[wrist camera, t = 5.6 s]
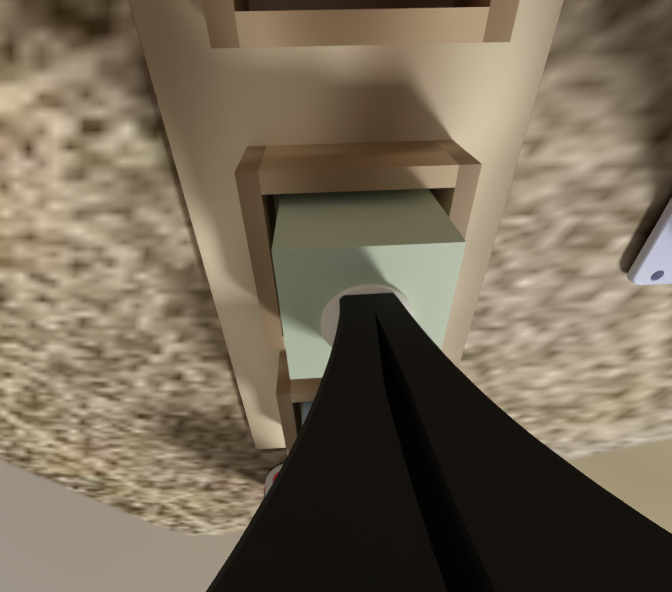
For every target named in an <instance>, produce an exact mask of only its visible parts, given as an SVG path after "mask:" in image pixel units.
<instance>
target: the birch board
mask: <svg viewBox="0 0 672 592" xmlns="http://www.w3.org/2000/svg"><path fill="white" fill-rule="evenodd" d="M563 2H564V0H129V3H130V6H131V10H132V13H133V17H134V20H135V24H136V27H137V31H138V35H139V38H140V42H141V45H142V49H143V52H144V56H145V59H146V63H147V66H148V70H149V73H150V77H151V80H152V84H153V87H154V91H155V94H156V98H157V102H158V105H159V109H160V112H161V116H162V119H163V123H164V126H165V130H166V133H167V137H168V140H169V144H170V147H171V151H172V154H173V158H174V161H175V165H176V169H177V172H178V176H179V179H180V183H181V186H182V190H183V193H184V197H185V200H186V204H187V207H188V211H189V214H190V218H191V221H192V225H193V229H194V232H195V236H196V239H197V243H198V246H199V250H200V253H201V257H202V260H203V264H204V267H205V271H206V274H207V278H208V281H209V285H210V288H211V292H212V296H213V299H214V303H215V306H216V310H217V313H218V317H219V320H220V324H221V327H222V331H223V334H224V338H225V341H226V345H227V348H228V352H229V356H230V359H231V363H232V366H233V370H234V373H235V377H236V380H237V384H238V387H239V391H240V394H241V398H242V401H243V405H244V408H245V412H246V415H247V419H248V423H249V426H250V430H251V433H252V437H253V440H254V444H255V447H256V449H272V448H286V451H287V456H288V454H289V452H290V450H291V448H292V446H293V444H294V442H295V440H296V438H297V436H298V434H299V432H300V430H301V428H302V402H310V401H314V398H315V396H316V393H317V391H318V388H319V385H320V383H321V380H322V378H306V379H290V376H289V369H288V362H287V355H286V348H285V341H284V334H283V327H282V320H281V313H280V306H279V299H278V292H277V285H276V278H275V271H274V264H273V257H272V245H273V238H274V232H275V226H276V220H277V213H278V207H279V201H280V195H281V194H293V193H320V192H346V191H373V190H400V189H426V188H428V189H429V190H430V191H431V193H432V194H433V196H434V197H435V198H436V200H437V201H438V203H439V204H440V205H441V207H442V208H443V210H444V211H445V212H446V214H447V215H448V217H449V218H450V220H451V221H452V222H453V224H454V225H455V227H456V228H457V229H458V231H459V232H460V234H461V235H462V236H463V238H464V239H465V241H466V246H465V251H464V255H463V259H462V263H461V268H460V272H459V276H458V281H457V285H456V289H455V293H454V298H453V302H452V306H451V310H450V315H449V319H448V323H447V328H446V332H445V336H444V340H443V345H442V349H441V350H442V352H443V353H444V354H445V355H446V356H447V357H448V358H449V359H450V360H451V361H452V362H453V363H454V365H455V366H456V367H457V368H458V367H459V364H460V360H461V357H462V353H463V350H464V346H465V343H466V339H467V336H468V332H469V329H470V325H471V322H472V318H473V315H474V311H475V308H476V304H477V301H478V297H479V294H480V290H481V287H482V284H483V280H484V277H485V273H486V270H487V266H488V263H489V259H490V256H491V252H492V249H493V245H494V242H495V238H496V235H497V231H498V228H499V224H500V221H501V217H502V214H503V210H504V207H505V203H506V200H507V197H508V193H509V190H510V186H511V183H512V179H513V176H514V172H515V169H516V165H517V162H518V158H519V155H520V151H521V148H522V144H523V141H524V137H525V134H526V130H527V127H528V123H529V120H530V116H531V113H532V110H533V106H534V103H535V99H536V96H537V92H538V89H539V85H540V82H541V78H542V75H543V71H544V68H545V64H546V61H547V57H548V54H549V50H550V47H551V43H552V40H553V36H554V33H555V29H556V26H557V23H558V19H559V16H560V12H561V9H562V5H563Z"/></svg>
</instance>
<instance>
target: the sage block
mask: <svg viewBox="0 0 672 592" xmlns="http://www.w3.org/2000/svg"><path fill="white" fill-rule="evenodd" d="M465 246H466V241H465V239H464V238H463V236H462V235H461V234H460V232H459V231H458V229H457V228H456V227H455V225H454V224H453V222H452V221H451V220H450V218H449V217H448V215H447V214H446V212H445V211H444V210H443V208H442V207H441V205H440V204H439V203H438V201H437V200H436V198H435V197H434V196H433V194H432V193H431V191H430V190H429V189H428V188H426V189H400V190H373V191H346V192H320V193H293V194H281V195H280V201H279V207H278V213H277V220H276V226H275V232H274V238H273V245H272V257H273V264H274V271H275V278H276V285H277V292H278V299H279V306H280V313H281V320H282V327H283V334H284V341H285V348H286V355H287V362H288V369H289V376H290V379H306V378H322V377H323V374H324V371H325V369H326V366H327V363H328V360H329V357H330V353H331V350H332V346H333V342H334V339H335V335H336V331H337V326H338V320H339V313H340V306H339V299H340V298H341V297H342V296H343V295H356V294H376V293H394V294H395V295H396V296H397V297H398V298H399V300H400V301H401V302H402V304H403V305H404V306H405V308H406V309H407V310H408V312H409V313H410V314H411V315H412V317H413V318H414V319H415V320H416V322H417V323H418V324H419V325H420V326H421V328H422V329H423V330H424V331H425V332H426V334H427V335H428V336H429V337H430V338H431V339H432V340H433V342H434V343H435V344H436V345H437V346H438V347H439V348H440V349H442V345H443V340H444V336H445V332H446V328H447V323H448V319H449V315H450V310H451V306H452V302H453V298H454V293H455V289H456V285H457V281H458V276H459V272H460V268H461V263H462V259H463V255H464V251H465Z"/></svg>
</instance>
